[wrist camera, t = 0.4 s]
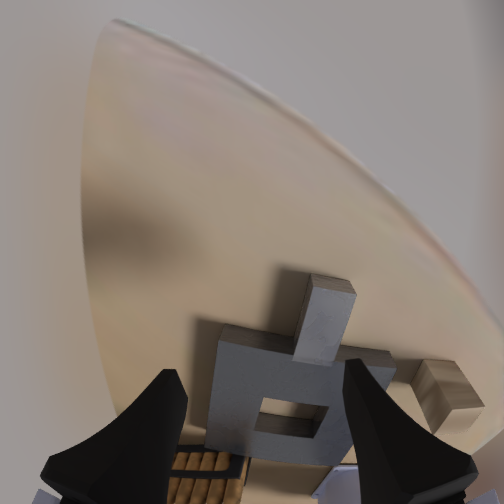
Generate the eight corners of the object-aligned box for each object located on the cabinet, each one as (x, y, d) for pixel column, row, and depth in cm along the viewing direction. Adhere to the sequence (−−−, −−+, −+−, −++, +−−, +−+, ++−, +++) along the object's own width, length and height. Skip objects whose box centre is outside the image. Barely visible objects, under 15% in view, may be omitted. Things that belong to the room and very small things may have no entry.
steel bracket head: (336, 449, 26) (337, 466, 24) (209, 430, 27) (204, 447, 25) (412, 293, 21) (424, 306, 18) (235, 258, 21) (229, 269, 19)
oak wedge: (441, 385, 23) (466, 432, 16) (410, 384, 23) (433, 436, 16) (454, 361, 22) (485, 406, 15) (423, 359, 22) (452, 409, 15)
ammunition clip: (172, 453, 29) (141, 527, 18) (165, 444, 29) (131, 520, 18) (253, 450, 27) (237, 540, 16) (248, 441, 27) (230, 535, 15)
